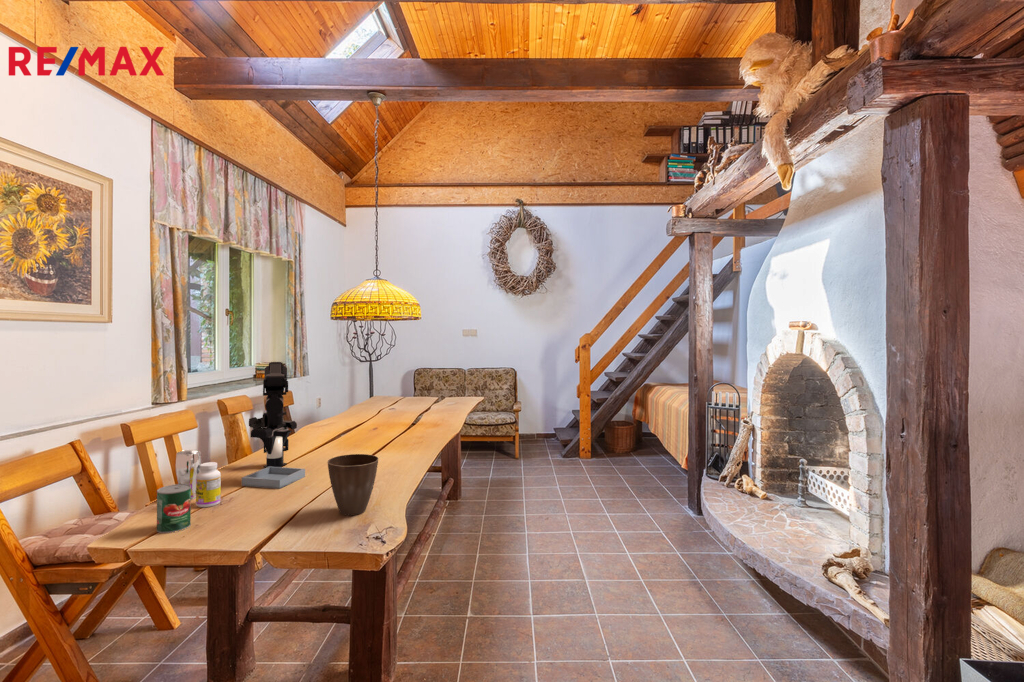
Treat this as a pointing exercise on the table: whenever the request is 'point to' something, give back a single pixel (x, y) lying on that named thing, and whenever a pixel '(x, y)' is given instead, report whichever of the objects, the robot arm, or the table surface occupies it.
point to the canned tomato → (173, 508)
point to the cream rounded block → (276, 449)
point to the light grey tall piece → (188, 468)
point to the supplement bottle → (208, 485)
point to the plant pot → (352, 481)
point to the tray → (273, 477)
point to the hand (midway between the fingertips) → (274, 452)
